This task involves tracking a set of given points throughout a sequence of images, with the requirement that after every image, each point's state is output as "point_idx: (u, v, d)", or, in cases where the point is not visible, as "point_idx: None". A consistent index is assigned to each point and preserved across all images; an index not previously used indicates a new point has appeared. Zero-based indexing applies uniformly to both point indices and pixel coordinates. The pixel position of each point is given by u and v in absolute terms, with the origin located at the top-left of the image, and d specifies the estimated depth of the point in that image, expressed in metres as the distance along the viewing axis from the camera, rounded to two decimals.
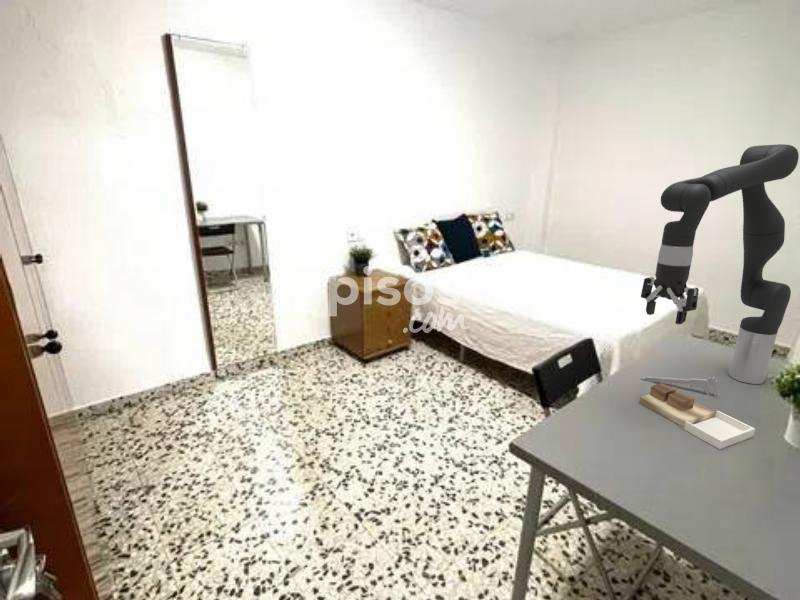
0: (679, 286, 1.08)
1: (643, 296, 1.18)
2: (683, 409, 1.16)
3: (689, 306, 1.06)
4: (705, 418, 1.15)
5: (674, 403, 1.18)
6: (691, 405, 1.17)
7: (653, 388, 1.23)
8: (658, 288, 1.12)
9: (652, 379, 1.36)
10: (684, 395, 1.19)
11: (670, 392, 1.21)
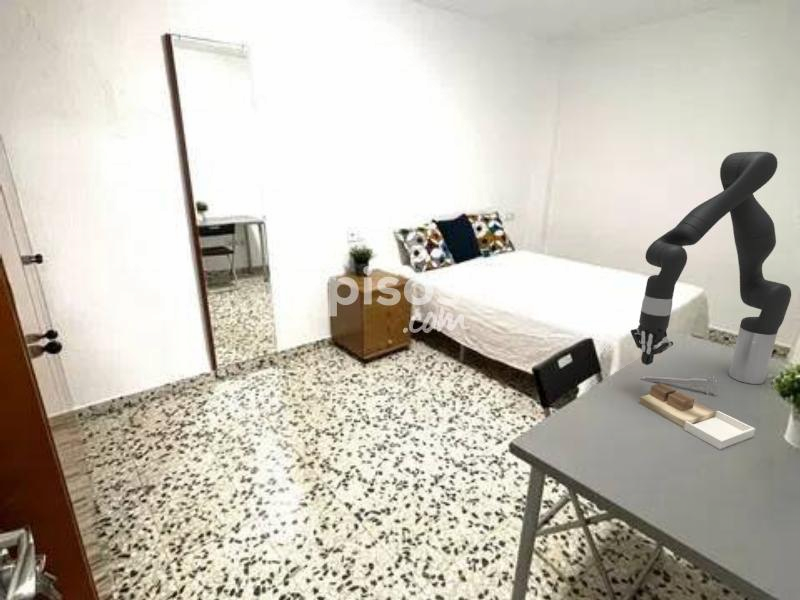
0: (661, 335, 1.20)
1: (639, 346, 1.27)
2: (683, 409, 1.16)
3: (656, 352, 1.22)
4: (705, 418, 1.15)
5: (674, 403, 1.18)
6: (691, 405, 1.17)
7: (653, 388, 1.23)
8: (642, 334, 1.25)
9: (652, 379, 1.36)
10: (684, 395, 1.19)
11: (670, 392, 1.21)
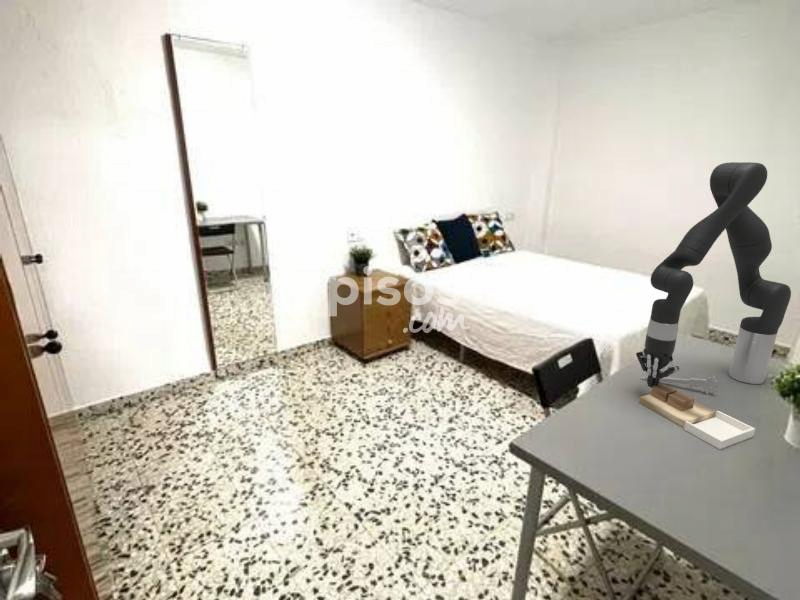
0: (666, 359, 1.19)
1: (644, 369, 1.27)
2: (683, 409, 1.16)
3: (662, 376, 1.21)
4: (705, 418, 1.15)
5: (674, 403, 1.18)
6: (691, 405, 1.17)
7: (654, 389, 1.23)
8: (648, 357, 1.24)
9: None
10: (684, 395, 1.19)
11: (671, 393, 1.21)
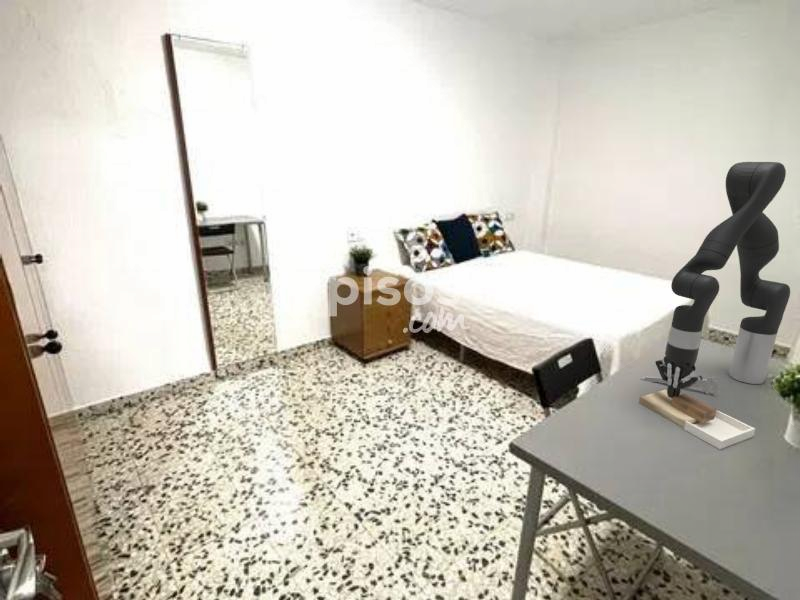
0: (689, 369, 1.13)
1: (664, 379, 1.21)
2: (704, 420, 1.11)
3: (684, 386, 1.15)
4: None
5: (694, 414, 1.12)
6: (712, 416, 1.12)
7: (675, 399, 1.17)
8: (669, 366, 1.18)
9: (652, 379, 1.36)
10: (704, 405, 1.13)
11: None
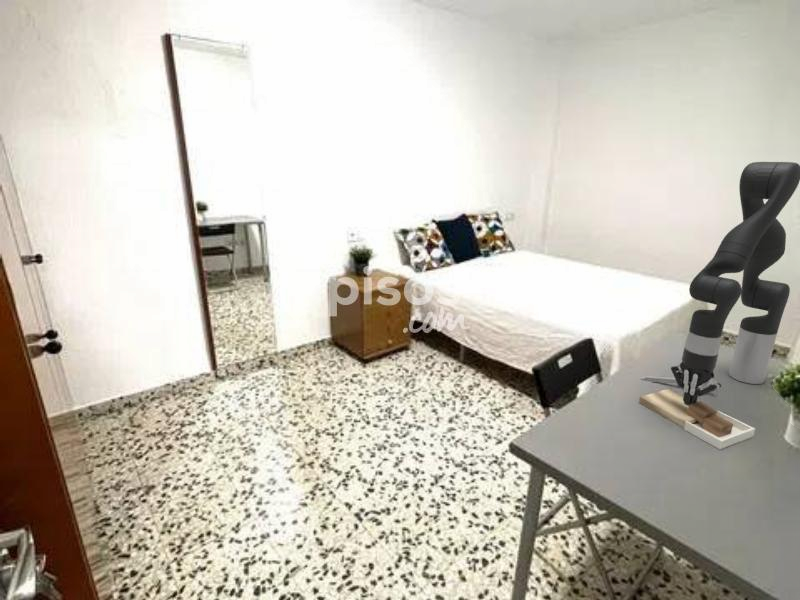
0: (707, 376, 1.09)
1: (681, 385, 1.16)
2: (721, 435, 1.07)
3: (701, 394, 1.11)
4: None
5: (710, 428, 1.09)
6: (729, 430, 1.08)
7: (691, 407, 1.13)
8: (685, 373, 1.14)
9: (651, 379, 1.36)
10: (721, 419, 1.10)
11: (710, 413, 1.11)
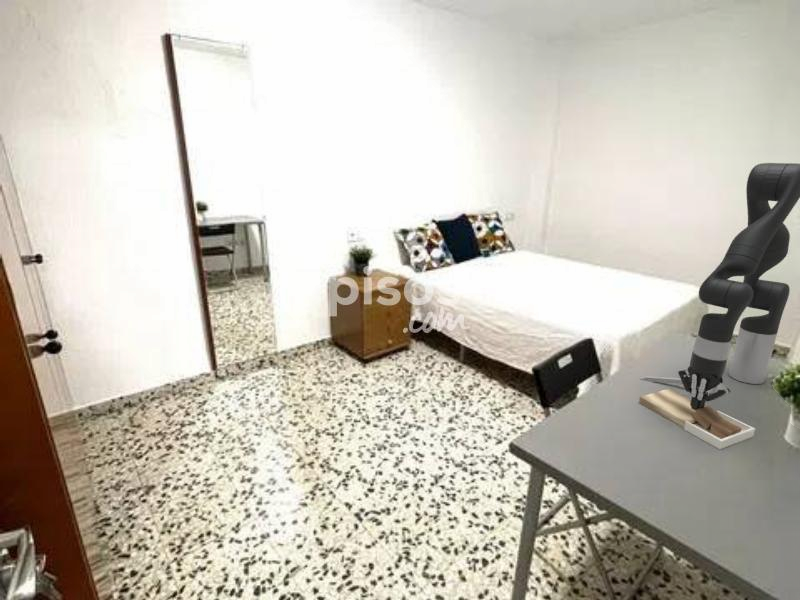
0: (716, 381, 1.07)
1: (688, 390, 1.14)
2: None
3: (710, 399, 1.09)
4: None
5: (718, 433, 1.07)
6: None
7: (698, 412, 1.11)
8: (693, 378, 1.11)
9: (651, 379, 1.36)
10: (729, 423, 1.08)
11: None
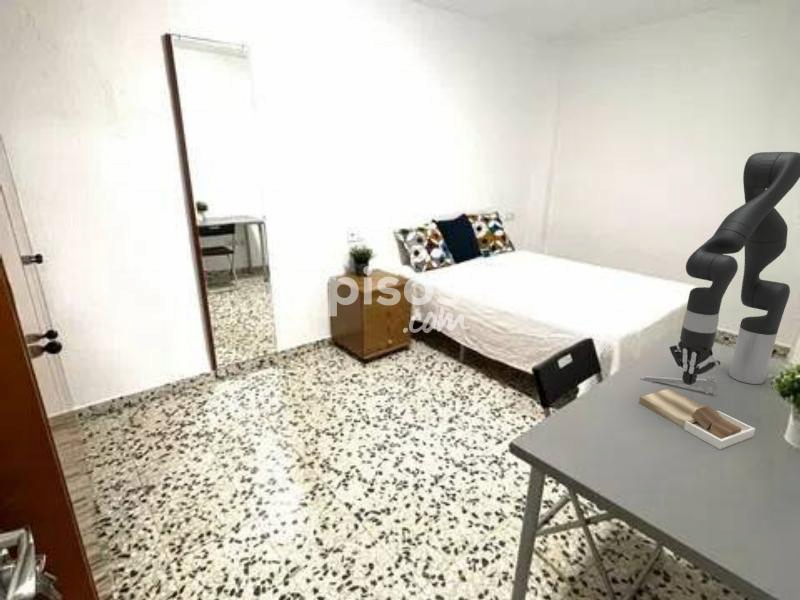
0: (706, 353, 1.09)
1: (680, 365, 1.16)
2: None
3: (700, 372, 1.11)
4: None
5: (718, 433, 1.07)
6: None
7: (698, 412, 1.11)
8: (684, 352, 1.13)
9: (651, 379, 1.36)
10: (729, 423, 1.08)
11: None
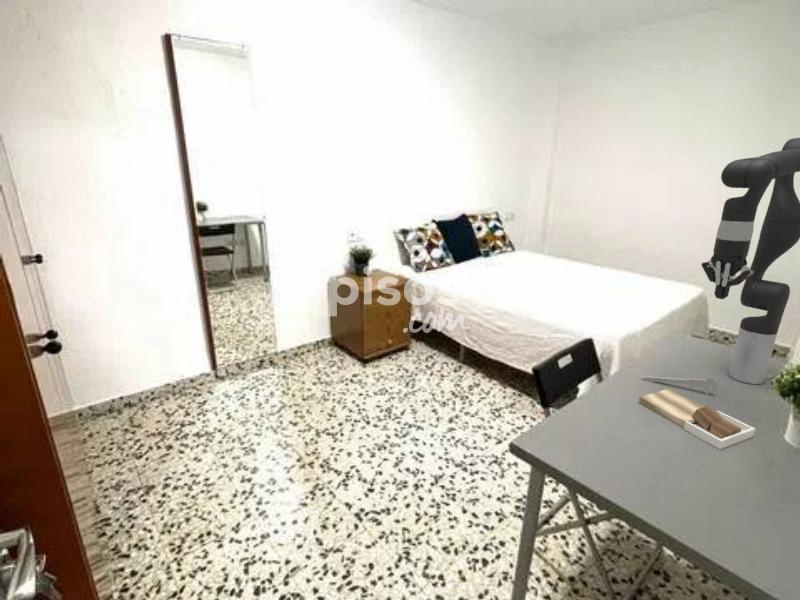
0: (740, 262, 1.10)
1: (712, 279, 1.17)
2: None
3: (734, 283, 1.12)
4: None
5: (718, 433, 1.07)
6: None
7: (698, 412, 1.11)
8: (717, 265, 1.14)
9: (651, 378, 1.36)
10: (729, 423, 1.08)
11: None
